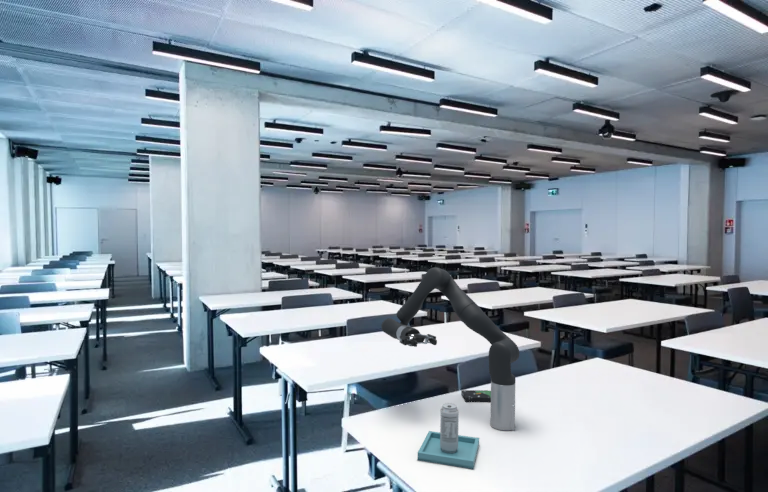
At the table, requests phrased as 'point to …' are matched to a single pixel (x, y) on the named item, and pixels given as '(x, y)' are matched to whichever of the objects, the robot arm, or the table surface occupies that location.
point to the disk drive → (476, 395)
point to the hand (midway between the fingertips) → (426, 343)
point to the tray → (460, 458)
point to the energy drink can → (449, 428)
